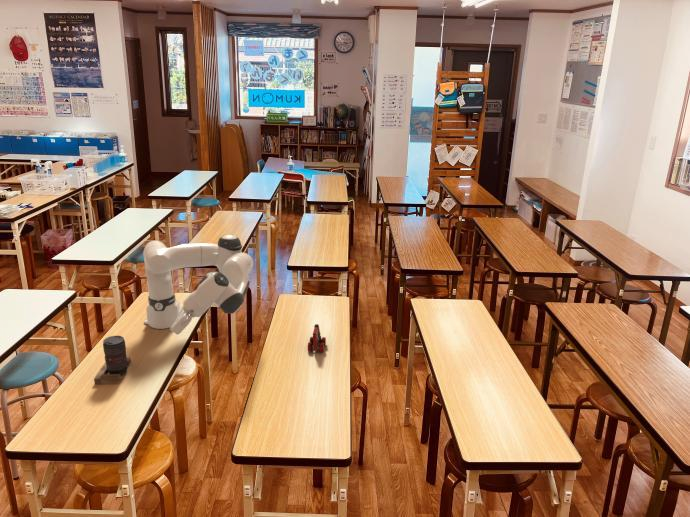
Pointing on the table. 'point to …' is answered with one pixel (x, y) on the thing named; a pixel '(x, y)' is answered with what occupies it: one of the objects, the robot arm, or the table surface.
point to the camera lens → (115, 355)
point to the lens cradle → (108, 375)
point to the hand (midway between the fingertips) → (171, 328)
